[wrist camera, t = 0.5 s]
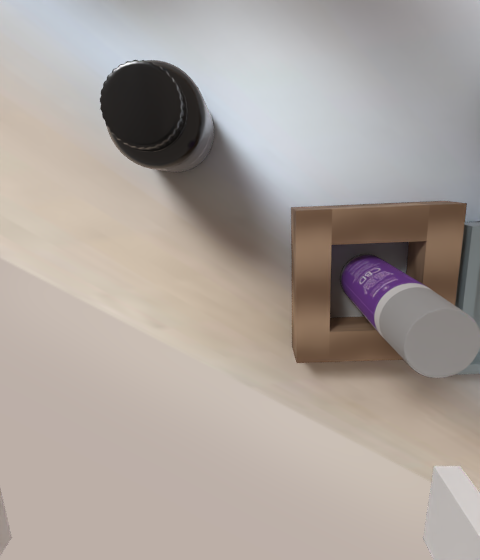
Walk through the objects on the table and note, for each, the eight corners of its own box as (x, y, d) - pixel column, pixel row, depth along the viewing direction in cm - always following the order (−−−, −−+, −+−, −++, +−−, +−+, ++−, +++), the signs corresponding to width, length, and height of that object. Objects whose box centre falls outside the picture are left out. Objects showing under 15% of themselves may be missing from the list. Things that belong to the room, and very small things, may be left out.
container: (354, 246, 36) (428, 293, 21) (397, 265, 36) (499, 324, 21) (331, 289, 37) (386, 363, 22) (374, 307, 37) (455, 391, 23)
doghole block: (291, 207, 35) (296, 210, 31) (445, 200, 34) (466, 203, 31) (292, 346, 38) (296, 362, 35) (431, 342, 38) (449, 358, 35)
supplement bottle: (216, 171, 34) (201, 168, 22) (141, 172, 34) (88, 170, 22) (213, 87, 32) (195, 37, 21) (134, 89, 32) (72, 41, 21)
